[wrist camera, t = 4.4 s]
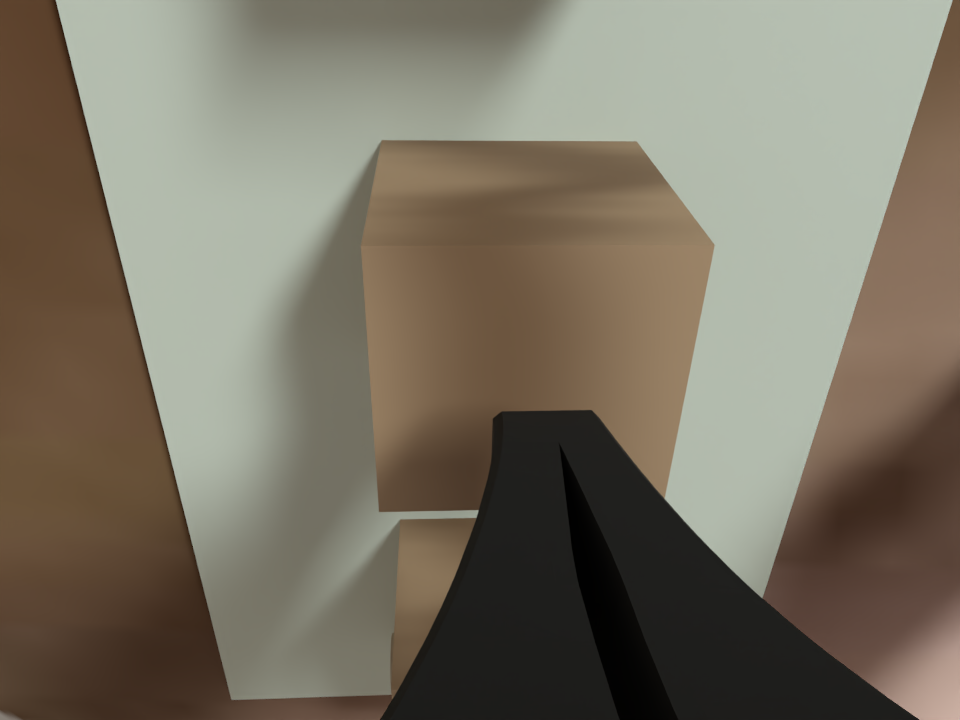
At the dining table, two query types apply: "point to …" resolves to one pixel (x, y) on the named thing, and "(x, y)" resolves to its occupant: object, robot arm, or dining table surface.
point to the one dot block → (423, 583)
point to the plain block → (523, 304)
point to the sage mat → (338, 261)
